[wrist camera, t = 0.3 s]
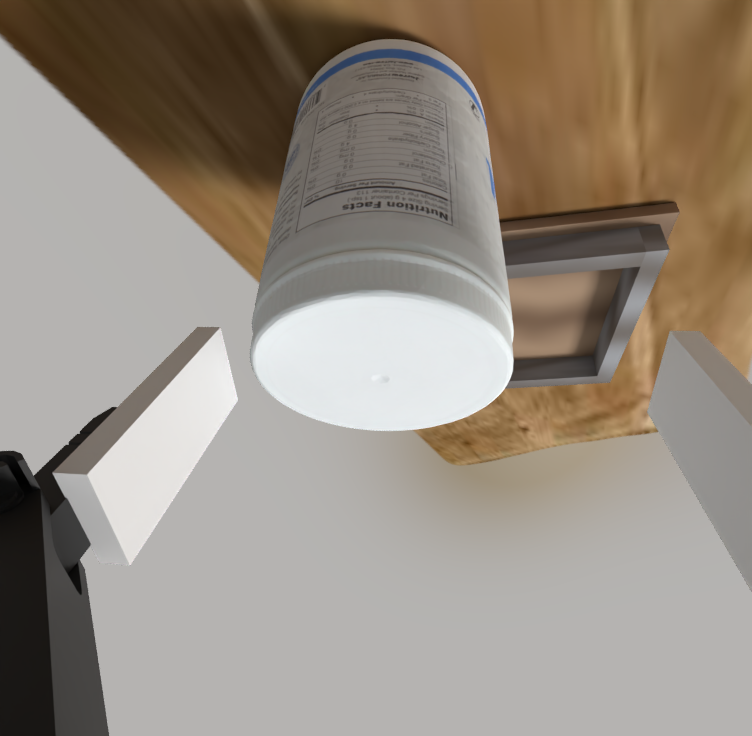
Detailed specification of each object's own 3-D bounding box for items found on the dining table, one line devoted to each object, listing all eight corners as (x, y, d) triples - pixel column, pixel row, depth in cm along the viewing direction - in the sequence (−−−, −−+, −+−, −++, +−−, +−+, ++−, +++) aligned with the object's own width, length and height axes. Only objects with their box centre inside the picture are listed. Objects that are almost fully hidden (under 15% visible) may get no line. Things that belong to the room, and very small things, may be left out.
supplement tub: (480, 199, 28) (505, 433, 21) (320, 212, 30) (290, 438, 22) (491, 11, 20) (540, 284, 13) (270, 40, 22) (195, 305, 14)
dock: (384, 235, 31) (383, 269, 30) (675, 202, 28) (690, 237, 27) (415, 370, 45) (415, 397, 44) (610, 358, 42) (617, 386, 41)
